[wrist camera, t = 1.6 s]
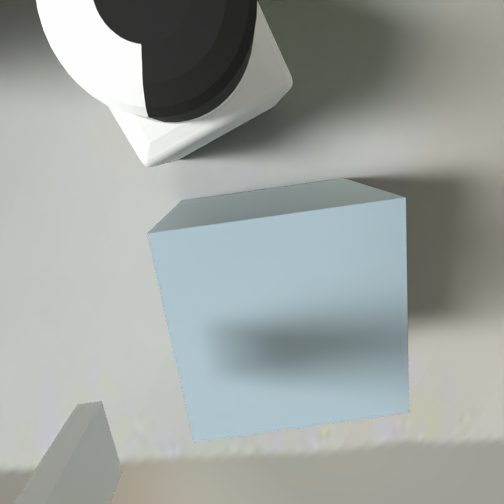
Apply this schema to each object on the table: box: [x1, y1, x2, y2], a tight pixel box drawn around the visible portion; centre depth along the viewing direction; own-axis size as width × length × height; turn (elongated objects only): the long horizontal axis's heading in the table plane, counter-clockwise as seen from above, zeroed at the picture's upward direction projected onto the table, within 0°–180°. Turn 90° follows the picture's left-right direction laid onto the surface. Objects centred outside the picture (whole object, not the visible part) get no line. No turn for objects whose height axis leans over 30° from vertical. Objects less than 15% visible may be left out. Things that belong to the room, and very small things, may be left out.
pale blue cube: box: [147, 178, 409, 443], centre depth 20 cm, size 10×10×9 cm
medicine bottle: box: [36, 0, 293, 167], centre depth 15 cm, size 7×7×12 cm
